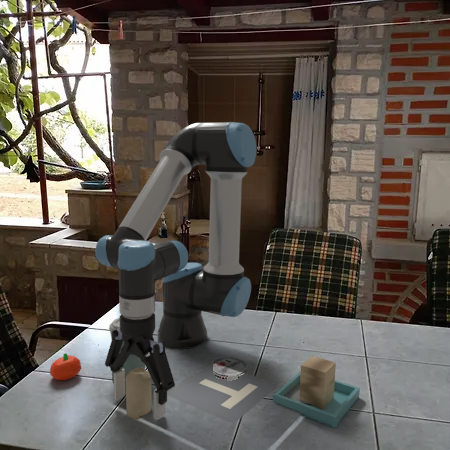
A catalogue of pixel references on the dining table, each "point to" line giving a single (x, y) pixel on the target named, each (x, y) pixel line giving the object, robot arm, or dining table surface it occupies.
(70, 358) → the pumpkin
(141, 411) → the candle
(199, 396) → the board
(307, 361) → the wooden block
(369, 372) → the dining table surface
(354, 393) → the tray
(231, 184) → the robot arm
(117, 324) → the disposable coffee cup
